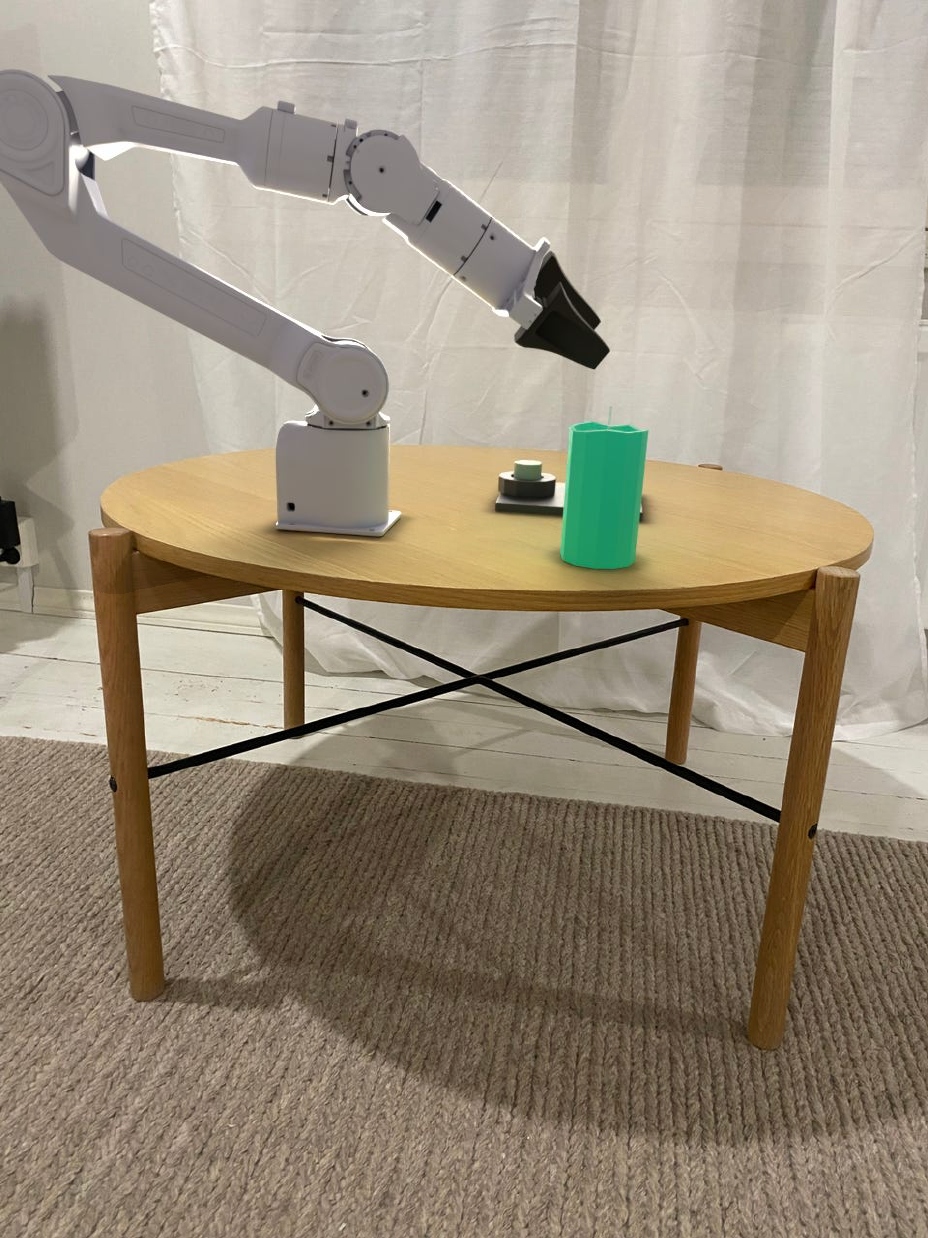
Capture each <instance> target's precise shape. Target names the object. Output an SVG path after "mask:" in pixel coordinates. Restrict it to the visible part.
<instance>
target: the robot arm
mask: <svg viewBox="0 0 928 1238" xmlns="http://www.w3.org/2000/svg"><path fill="white" fill-rule="evenodd" d="M47 78H49V80H51V81H52V82H54V83H55V84H56V85H57V86H58V87H59V88H60V89H61V90H59V91H55V89H54V88H53V87H52V86H51V85H50V84H49V83H48V82H46V81H45V80H44V79H42V78H41V77H40V76H37V74H34V73H32V72H29V71H26V70H22V69H16V68H15V69H14V68H12V69H11V68H10V69H2V70H0V184H1V186H2V187H3V188H4V189H5V190H6V192H7V193H8V195H9V196H10V197H11V199H12V200H13V202H14V204H15V205H16V206H17V208H18V210H19V211H20V212H21V214H22V215H23V217H24V218H25V219H26V221H27V222H28V224H29V225H30V227H31V228H32V230H33V231H34V233H35V235H36V236H37V237H38V239H39V240H40V241H41V243H42V245H43V246H44V247H45V249H46V250H47V251H48V253H50V255H52V256H53V257H55V258H56V259H58V260H59V261H60V262H62V263H64V264H66V265H68V266H70V267H72V268H73V269H76V270H77V271H80V272H81V273H83V274H85V275H87V276H88V277H91V278H92V279H95V280H97V281H98V282H101V283H102V284H104V285H106V286H108V287H110V288H112V289H114V290H116V291H118V292H120V293H122V294H123V295H125V296H128V297H129V298H131V299H133V300H135V301H137V302H139V303H141V304H143V305H145V306H146V307H148V308H150V309H152V310H154V311H155V312H158V313H159V314H162V315H163V316H166V317H167V318H169V319H171V320H173V321H175V322H177V323H179V324H181V325H183V326H184V327H187V328H188V329H190V330H192V331H194V332H196V333H197V334H200V335H201V336H204V337H206V338H208V339H209V340H212V341H213V342H215V343H217V344H219V345H221V346H223V347H224V348H226V349H228V350H230V351H232V352H234V353H236V354H237V355H240V356H242V357H244V358H246V359H248V360H250V361H251V362H253V363H255V364H257V365H259V366H261V367H263V368H265V369H267V370H268V371H270V372H271V373H273V374H274V375H276V376H277V377H279V378H280V379H282V380H283V381H284V382H286V383H287V384H288V385H290V386H292V387H294V388H296V389H298V390H299V391H301V392H303V393H304V394H305V395H307V396H308V397H309V398H310V399H311V400H312V401H313V403H314V404H315V405H314V406H313V408H312V409H310V411H308V412H305V415H304V421H303V420H301V421H300V420H288V421H286V422H284V423H283V424H282V425H281V427H280V429H279V431H278V434H277V437H276V438H277V440H276V444H275V445H276V446H275V481H276V482H275V484H276V485H275V487H276V511H277V513H276V514H277V521H276V522H275V523H274V528H275V529H276V530H285V531H297V532H298V531H299V532H310V533H311V532H312V533H325V534H338V535H339V534H340V535H351V536H366V537H383V536H384V535H385V534H386V533H387V532H388V531H389V529H391V527H392V526H394V525H395V523H397V521H398V520H399V519H401V517H402V512H401V511H399V510H390V484H391V483H390V482H391V481H390V480H391V479H390V477H391V474H390V472H391V471H390V469H391V467H390V466H391V464H390V463H391V461H390V460H391V425H390V424H391V417H390V416H387V415H385V414H384V413H382V412H381V411H382V410H383V408H384V406H385V405H386V403H387V401H388V399H389V393H390V376H389V373H388V370H387V368H386V366H385V364H384V362H383V361H382V360H381V358H380V357H379V356H378V355H377V354H376V353H375V352H373V351H372V350H371V349H370V348H369V346H367V345H366V344H365V343H363V342H362V341H359V340H357V339H354V338H349V337H332V336H328V335H325V334H324V333H322V332H320V331H318V330H316V329H314V328H312V327H311V326H308V325H306V324H304V323H302V322H300V321H298V320H296V319H294V318H292V317H291V316H288V315H287V314H285V313H282V312H281V311H279V310H277V309H276V308H274V307H271V306H270V305H268V304H267V303H264V302H263V301H261V300H259V299H257V298H256V297H253V296H251V295H250V294H248V293H246V292H244V291H242V290H241V289H238V288H237V287H235V286H234V285H231V284H229V283H228V282H226V281H224V280H222V279H221V278H219V277H217V276H215V275H213V274H211V273H209V272H207V271H206V270H204V269H202V268H200V267H198V266H197V265H195V264H193V263H192V262H189V261H188V260H186V259H184V258H183V257H180V256H178V255H176V254H175V253H173V252H171V251H170V250H167V249H165V248H163V247H162V246H161V245H159V244H156V243H155V242H153V241H151V240H149V239H147V238H146V237H144V236H142V235H139V234H138V233H136V232H135V231H132V230H131V229H129V228H127V227H125V226H123V225H122V224H120V223H118V222H117V221H114V220H113V219H111V218H110V217H109V215H108V212H107V209H106V207H105V203H104V200H103V198H102V194H101V191H100V188H99V185H98V182H97V180H96V157H98V158H100V159H102V160H103V161H105V162H106V161H108V160H111V159H113V158H115V157H117V156H118V155H120V154H122V153H124V152H126V151H128V150H130V149H132V148H140V149H141V148H142V149H148V150H154V151H157V152H163V153H169V154H174V155H178V156H179V155H180V156H185V157H190V158H196V159H202V160H206V161H212V162H218V163H223V164H228V165H234V166H237V167H239V169H241V171H242V172H243V174H244V176H245V177H246V178H247V180H248V182H249V183H250V184H251V185H252V187H253V188H255V189H257V190H263V191H269V192H273V193H278V194H280V195H288V196H291V197H295V198H300V199H305V200H310V201H314V202H318V203H323V204H328V205H335V204H336V203H337V202H340V201H342V200H344V201H345V203H346V204H347V205H348V206H349V207H350V209H352V210H353V211H354V212H355V213H357V214H358V215H360V216H362V217H367V216H375V217H380V216H381V217H382V216H385V217H384V218H382V220H381V221H382V222H383V223H384V224H386V225H387V227H390V228H391V229H392V230H394V232H396V233H397V234H399V235H400V236H401V237H403V238H404V240H405V242H406V243H407V245H409V246H410V247H411V248H413V249H414V250H416V251H417V252H419V253H420V254H421V255H422V256H423V257H424V258H426V259H427V260H429V262H431V263H433V264H434V265H435V266H436V267H438V268H439V269H441V270H442V271H443V272H445V273H446V274H447V275H449V277H451V278H452V279H454V280H455V281H457V282H458V283H459V284H461V285H462V286H463V287H464V288H465V289H467V290H468V291H469V292H471V293H472V294H473V295H475V296H476V297H477V298H479V299H480V300H482V301H483V302H484V303H486V304H487V305H488V306H489V307H490V308H491V310H492V312H493V313H495V314H496V315H498V316H500V317H509V318H510V319H512V320H513V321H514V322H515V323H517V324H518V325H519V327H518V329H517V330H516V331H515V333H514V334H513V338H514V339H513V340H514V343H515V344H516V345H518V346H519V347H522V348H523V349H536V350H541V351H546V352H549V353H552V354H555V355H558V356H559V357H560V356H561V357H563V358H565V359H567V360H570V361H571V362H574V363H576V364H578V365H580V366H583V367H586V368H587V369H590V370H594V371H595V370H596V369H597V368H598V366H599V365H600V364H601V363H602V362H603V361H604V359H605V358H606V357H608V354H609V353H610V352H611V350H610V347H609V346H608V344H607V343H606V341H605V340H604V339H603V338H602V337H601V336H600V334H599V333H598V332H597V331H596V329H597V328H598V327H599V325H600V324H601V323H602V321H601V318H600V316H599V315H598V314H597V312H596V311H595V310H594V309H593V307H592V306H591V305H590V304H589V303H588V302H587V301H586V300H585V298H584V297H583V295H581V294H580V292H579V291H578V290H577V289H576V288H575V286H574V285H573V284H572V282H571V281H570V280H569V278H568V276H567V275H566V273H565V271H564V270H563V267H561V264H560V262H559V259H558V258H557V255H556V253H555V252H553V251H552V250H549V249H550V248H551V243H550V241H549V240H548V239H547V238H546V237H544V236H543V237H541V238H540V240H539V241H538V242H537V244H535V246H534V247H532V246H531V245H529V244H528V243H527V242H526V241H525V240H523V239H522V238H521V237H520V236H519V235H517V234H516V233H514V232H513V231H512V230H511V229H510V228H508V227H507V226H506V225H504V224H503V223H502V222H501V221H499V220H498V219H497V218H495V217H494V216H493V215H492V214H491V213H490V212H488V211H487V210H486V209H484V208H483V207H482V206H481V205H479V204H478V203H477V202H476V201H474V200H473V199H472V198H471V197H469V196H468V195H466V193H464V191H462V190H461V189H459V188H458V187H456V185H454V184H453V183H452V182H450V180H447V179H443V178H442V177H441V176H440V175H438V174H437V173H436V171H434V170H433V169H432V168H431V167H429V166H428V165H426V164H424V163H423V162H422V161H420V158H419V155H418V152H417V150H416V148H415V146H414V145H413V143H412V142H411V141H410V139H409V138H407V136H406V135H404V134H401V135H398V134H396V133H395V132H392V131H389V130H386V129H372V130H368V131H367V132H363V133H361V134H360V135H358V128H359V122H358V121H357V120H354V119H350V118H349V119H348V118H345V119H344V124H342V123H336V122H333V121H328V120H324V119H319V118H316V117H311V116H307V115H304V114H299V113H296V105H295V103H292V102H288V101H284V100H278V101H277V108H273V107H269V106H265V105H263V106H261V107H259V108H257V109H256V110H255V111H253V112H252V113H251V114H250V115H248V116H246V117H245V118H242V119H239V118H235V117H231V116H227V115H224V114H220V113H216V112H212V111H209V110H205V109H201V108H197V107H194V106H190V105H186V104H182V103H180V102H175V101H172V100H168V99H164V98H161V97H157V96H154V95H150V94H146V93H142V92H138V91H134V90H131V89H127V88H124V87H120V86H116V85H112V84H107V83H104V82H103V83H102V82H97V81H93V80H89V79H88V80H87V79H82V78H77V77H72V76H67V75H52V74H48V75H47Z"/></svg>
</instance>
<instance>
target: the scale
mask: <svg viewBox="0 0 928 1238" xmlns="http://www.w3.org/2000/svg"><path fill="white" fill-rule="evenodd" d="M497 484H498V485H497V492H498V493H500V494H499V496H498V497H497V499H496V501H495V503H494V504H495V505H494V511H495V512H507V513H517V514H518V513H521V514H534V515H549V516H561V517H563V509H564V495H565V482H557V476H555V475H553V474H551V473H547V472H542V475H541V479H535V480H529V479H518V478H514V470H509V471H505V472H500V473H499V475H498V482H497ZM643 518H644V511H643V504H642V501H641V507H640V517H639V522H643V520H644V519H643Z"/></svg>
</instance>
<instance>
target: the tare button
mask: <svg viewBox="0 0 928 1238" xmlns="http://www.w3.org/2000/svg"><path fill="white" fill-rule="evenodd" d="M513 471H514V478H518V479H529V480H535V479H541V475H542V473H543V463H542V461H538V460H532V459H520V460H519V459H518V460H515V461H514V462H513Z"/></svg>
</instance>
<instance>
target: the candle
mask: <svg viewBox="0 0 928 1238" xmlns="http://www.w3.org/2000/svg"><path fill="white" fill-rule="evenodd" d="M611 419H612V406H609V410H608V422H607V424H604V423H599V422H597V421H593V420H591V421H585V422H578V423H574V424H571V425H570V426H569V428H568V429H569V430H568V441H567V442H568V444H567V457H566V470H565V482H564V483H565V495H564V509H563V516H562V521H561V522H562V524H561V537H560V538H561V539H560V550H559V556H560V558H561V559H562V561H563V562H565V563H568V564H571V565H573V566H576V567H582V568H589V569H595V570H618V569H623V568H628V567H630V566H632V565H633V564H634V563H636V554H637V544H638V535H639V526H640V521H639V517H640V507H641V502H642V496H643V487H644V486H643V485H644V478H645V468H646V467H645V466H646V458H647V448H648V438H649V429H639V428H637V427H636V426H633V425H632V424H619V425H618V424H616V425H611Z"/></svg>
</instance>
